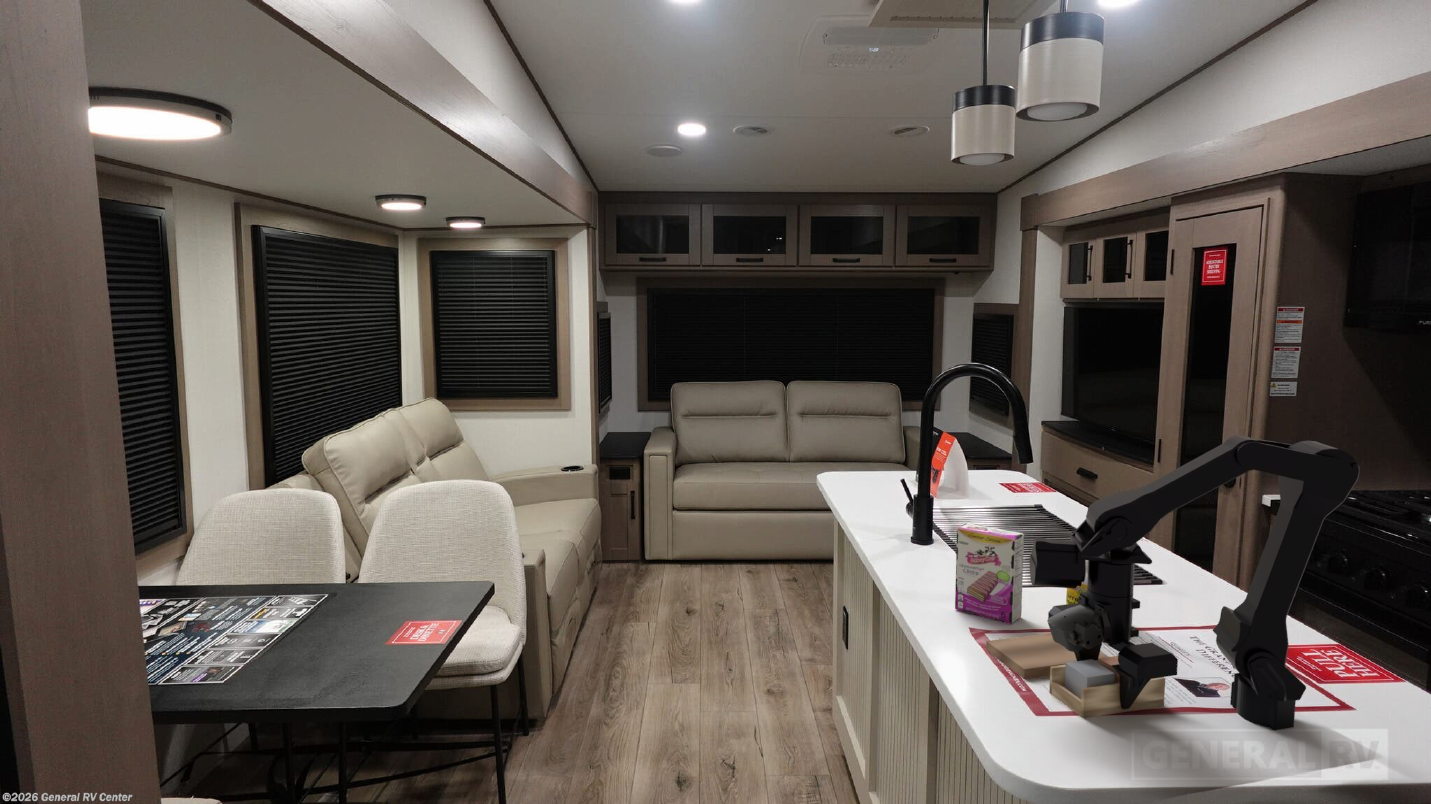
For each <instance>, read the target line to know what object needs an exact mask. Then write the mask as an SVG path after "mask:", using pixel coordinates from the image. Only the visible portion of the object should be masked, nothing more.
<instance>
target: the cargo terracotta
mask: <svg viewBox="0 0 1431 804" xmlns="http://www.w3.org/2000/svg"><path fill="white" fill-rule="evenodd" d="M1099 664H1100V665H1102V666H1104V667H1105V668H1107V669H1108V670H1110V671H1112V672H1113V673H1115V679H1114V684H1116V683H1120V681H1119V674H1118V673H1117V672H1116V671H1115V670H1114V668H1113V667H1112V665H1117V664H1119V662H1118V655H1113V656H1108V657H1105V658H1099Z"/></svg>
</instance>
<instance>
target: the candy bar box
mask: <svg viewBox="0 0 1431 804" xmlns="http://www.w3.org/2000/svg"><path fill="white" fill-rule="evenodd" d="M1024 549H1025V534H1024V533H1022V532H1018V531H1017V532H1016V531H1012V530H1007V529H1003V528H997V527H992V526H987V525H982V524H976V523H972V522H965V523H964V524H962V525H959V526H958V527H957V528H956V550H955V551H956V552H955V553H956V554H955V555H956V556H955V557H956V558H955V564H956V565H955V592H954V593H955V594H954V595H955V596H954V599H955V600H954V609H955V610H958V611H961V612H964V613H969V614H971V615H975V616H979V617H983V618H985V619H990V620H994V621H997V622H1001V623H1004V624H1009V625H1013V624H1014V623H1016V621H1018V620H1019V619H1020V618H1022V609H1023V608H1022V606H1023V605H1022V604H1023V603H1022V602H1023V600H1022V599H1023V579H1024V578H1023V576H1024V575H1023V574H1024Z"/></svg>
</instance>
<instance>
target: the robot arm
mask: <svg viewBox="0 0 1431 804" xmlns="http://www.w3.org/2000/svg"><path fill="white" fill-rule="evenodd" d="M1360 468H1361V467H1360V465H1359V464H1358V462H1357V460H1356V459H1355V458H1354V456H1352V454H1350V453H1349V452H1347V451H1346V450H1345V451H1344V450H1343V449H1339V448H1337V447H1334V446H1330V445H1329V444H1324V443H1321V442H1319V441H1315V440H1314V441H1313V440H1302V441H1298V442H1296V443H1294V444H1289V443H1284V442H1277V441H1273V440H1264V439H1258V438H1257V439H1256V438H1251V437H1248V436H1245V435H1242V434H1241V435H1238V434H1237V435H1234V436H1231V437H1229V438H1227V439H1226V440H1225V441H1224V442H1222V443H1221V444H1220V445H1218V446H1216V447H1215V448H1213V449H1210V450H1209V451H1207V452H1205V453H1203V454H1202V455H1199V456H1198V457H1195V458H1194V459H1193V460H1191V461H1189V462H1187V463H1185V464H1183V465H1181V466H1179V467H1178V468H1176V469H1174V470H1172V471H1170V472H1169V473H1167V474H1165V475H1162V476H1161V477H1160V478H1158V479H1155V480H1154V481H1152V482H1150V483H1148V484H1146V485H1143V486H1141V487H1139V488H1138V487H1137V488H1134V489H1129V490H1124V491H1119V492H1116V493H1114V494H1111V495H1108V496H1105V497H1102V498H1100V499H1097V500H1095V501H1094V502H1093V503H1091V504H1090V505H1089V507H1087V512H1086V515H1085V519H1084V520H1083V521H1082V523H1081V524H1079V526H1078V527H1077V528H1076V529H1075V530H1074V531H1073V532H1072V533H1071V534H1070V536H1069V539H1070V540H1063V539H1049V538H1046V537H1037V536H1036V537H1034V538H1033V545H1032V548H1031V554H1029V576H1030V581H1031V586H1035V587H1046V588H1061V589H1067V588H1073V589H1075V588H1076V587H1077V586H1081V584H1082V582H1084V581H1085V575H1086V565H1085V561H1086V560H1088V578H1087V592H1084V593H1080V596H1079V597H1078V603H1074V604H1066V603H1065V604H1060V605H1058V604H1057V605H1053V606H1052V608H1050V610H1049V611H1048V614H1047V615H1048V617H1047V621H1046V622H1047V624H1048V627H1049V631H1050V633H1051V634H1052V637H1053V640H1054V641H1055V642H1056V643H1059V644H1061V645H1062V646H1064V647H1065V648H1066V649H1067V650H1069V651H1071V652H1074V654H1075V656H1076V659H1077V661H1083V660H1091V659H1093V660H1094V661H1095V660H1098V658H1099V654H1100V652H1101V649H1102V645H1105V646H1108V647H1111V649H1114V650H1115V651H1117V652H1118V653H1117V656H1118V662H1119V664H1117V665H1112V667H1113V668H1114V670H1115V671H1116V672H1117V673H1118V674H1119V681H1120V703H1121V708H1122V709H1124V710H1125V709H1129V708H1130V707H1131V706H1132V704H1133V703H1134V701H1135V700H1136V698H1137V697H1138V695H1139V694H1140V693H1141V691H1142V690H1143V688H1144V687H1145V685H1146V684H1147V683H1148V682H1149V681H1150V680H1151V679H1154V678H1161V677H1164V678H1166V677H1173V676H1177V675H1178V663H1179V659H1178V658H1177V657H1176V656H1175V655H1174V653H1172V652H1171V651H1169V650H1166V649H1165V648H1163V647H1161V646H1159V645H1158V644H1155V643H1154V642H1146V643H1138V644H1136V643H1134V642H1132V641H1131V638H1132V639H1133V638H1138V637H1139V636H1140V629H1138V628H1137V627H1135V626H1133V613H1134V612H1133V610H1137V609H1140V608H1141V601H1140V600H1138V599H1136V598H1134V587H1135V586H1134V584H1135V564H1137V565H1138V564H1139V565H1140V564H1141V565H1152V564H1153V560H1152V558H1151V557H1149V555H1148V554H1147V553H1146V552H1145V551H1144V550H1143V549H1142V548H1141V546H1140V545H1139V544H1138V542H1139V541H1140V540H1142V539H1143V538H1144V537H1145V536H1147V535H1149V534H1150V533H1151V532H1152V531H1153V529H1154V528H1156V527H1157V526H1158V524H1159V523H1160V521H1161V520H1162V519H1164V518H1165V517H1166V516H1168V514H1170V513H1173V512H1174V511H1176V510H1178V509H1180V508H1181V507H1184V506H1186V505H1187V504H1189V503H1191V502H1193V501H1194V500H1195V501H1196V499H1199V498H1200V497H1202V496H1203V497H1204V496H1205V495H1206V494H1208V493H1211V492H1212V491H1215V490H1216V489H1219V488H1220V487H1222V486H1224V485H1225V484H1227V483H1230V482H1231V481H1233V480H1235V479H1237V478H1239V477H1240V476H1243V475H1244V474H1246V473H1248V472H1250V471H1253V470H1254V471H1258V472H1263V473H1269V474H1272V475H1276V476H1278V480H1277V481H1278V491H1279V498H1280V500H1279V501H1280V504H1279V508H1278V511H1277V514H1276V516H1275V518H1274V520H1273V524H1272V527H1271V529H1270V532H1269V535H1268V538H1267V539H1266V543H1265V546H1264V548H1263V550H1262V553H1261V557H1260V559H1259V561H1258V564H1257V567H1256V569H1255V573H1254V576H1253V577H1252V581H1251V584H1250V586H1249V589H1248V591H1247V595H1246V597H1245V599H1244V600H1243V601H1242V602H1241V603H1240V604H1239V605H1238V606H1237V607H1236V608H1234V609H1232V608H1229V607H1227V606H1226V605H1224V606H1222V608H1221V610H1220V616H1219V621H1218V623H1217V625H1215V626H1214V628H1212V632H1213V633H1214V634H1215V635H1216V639H1215V643H1216V646H1217V647H1218V649H1219V652H1220V653H1221V654H1222V655H1223V656H1224V657H1225V659H1227V661H1228V662H1229V663H1230V664H1231V665H1232V667H1233V668H1234V669H1235V670H1236V671H1237V672H1236V673H1234V675H1233V676H1234V677H1233V681H1232V682H1231V687H1230V690H1231V691H1230V701H1229V702H1230V706H1232V708H1234V709H1235V710H1236V713H1237V714H1238V715H1239V716H1240V717H1241V718H1243V719H1244V720H1246V721H1248V722H1249V723H1252V724H1254V725H1258V726H1260V727H1261V726H1262V727H1264V728H1268V729H1270V730H1272V731H1281V730H1286V729H1292V728H1294V726H1295V717H1296V716H1295V715H1296V701H1300V700H1302V697H1303V695H1304V693H1305V692H1306V689H1307V685H1306V684H1304V683H1303V682H1302V681H1301V680H1300V679H1299V678H1298V677H1297V676H1296V675H1295V674H1294V673H1293V672H1292V671H1291V670H1290V668H1288V667H1287V666H1286V664H1287V663H1286V662H1287V658H1288V653H1289V652H1288V651H1289V646H1290V645H1289V635H1288V627H1287V617H1288V614H1289V612H1290V609H1291V606H1292V604H1293V601H1294V599H1295V596H1296V593H1297V591H1298V588H1299V586H1300V583H1301V580H1302V578H1303V575H1304V572H1305V571H1306V567H1307V565H1308V562H1309V559H1310V558H1311V557H1310V556H1311V555H1312V551H1313V548H1314V546H1315V544H1316V542H1317V538H1318V536H1319V533H1320V532H1321V528H1322V526H1323V523H1324V520H1325V519H1326V517H1327V516H1329V515H1330V514H1331V513H1332V512H1334V511H1335V510H1336V509H1337V508H1338V507H1340V506H1341V504H1343V503H1344V502H1345V501H1346V499H1347V498H1348V496H1349V494H1350V493H1351V491H1352V490H1353V488H1354V486H1355V485H1356V483H1357V482H1358V480H1359V478H1360V472H1361V469H1360Z"/></svg>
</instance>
